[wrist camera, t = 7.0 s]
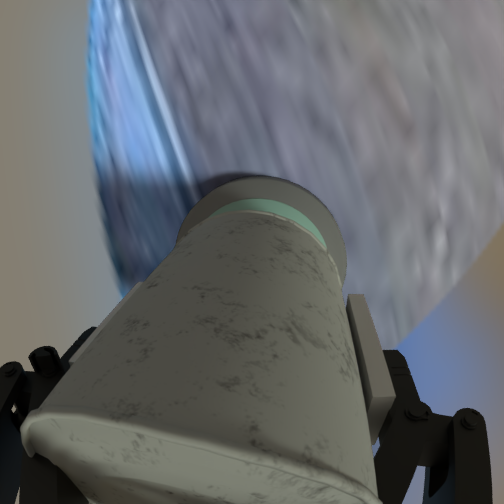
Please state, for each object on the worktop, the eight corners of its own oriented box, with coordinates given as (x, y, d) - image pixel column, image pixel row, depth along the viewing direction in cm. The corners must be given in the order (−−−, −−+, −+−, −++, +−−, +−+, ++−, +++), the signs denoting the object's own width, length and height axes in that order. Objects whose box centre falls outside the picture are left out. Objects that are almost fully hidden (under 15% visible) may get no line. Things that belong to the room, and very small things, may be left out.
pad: (315, 152, 19) (317, 154, 17) (358, 304, 22) (362, 317, 21) (157, 208, 21) (147, 215, 20) (218, 339, 25) (213, 351, 23)
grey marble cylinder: (141, 231, 16) (-35, 385, 5) (326, 191, 14) (411, 402, 3) (196, 371, 20) (129, 543, 8) (349, 354, 18) (372, 558, 6)
